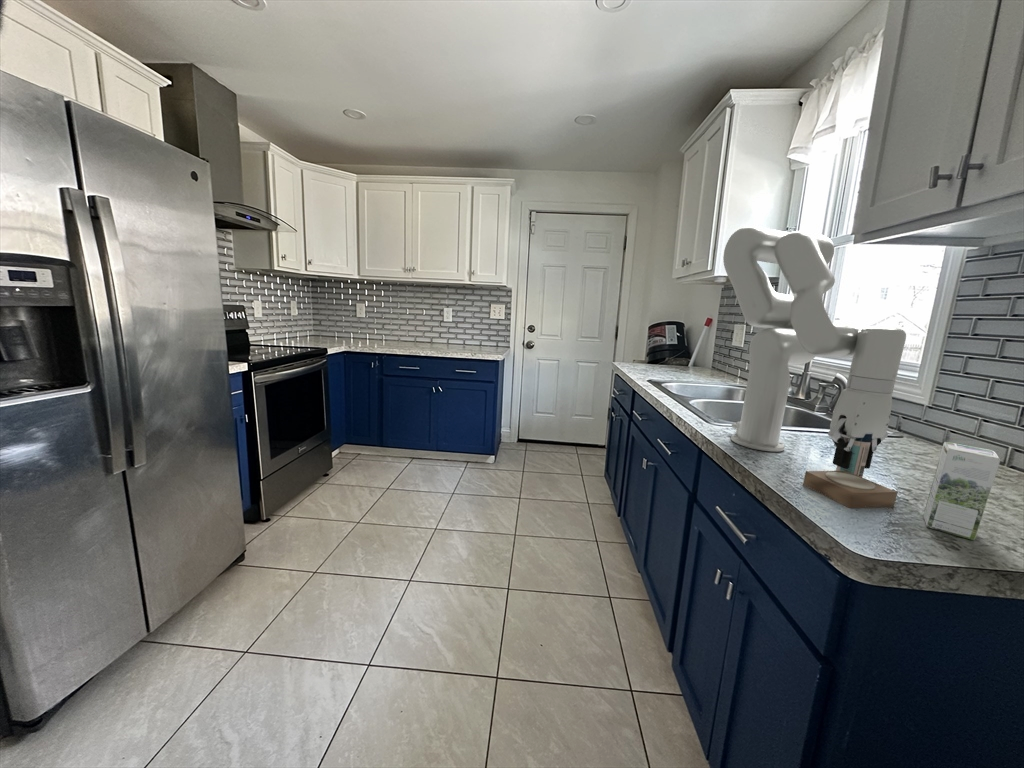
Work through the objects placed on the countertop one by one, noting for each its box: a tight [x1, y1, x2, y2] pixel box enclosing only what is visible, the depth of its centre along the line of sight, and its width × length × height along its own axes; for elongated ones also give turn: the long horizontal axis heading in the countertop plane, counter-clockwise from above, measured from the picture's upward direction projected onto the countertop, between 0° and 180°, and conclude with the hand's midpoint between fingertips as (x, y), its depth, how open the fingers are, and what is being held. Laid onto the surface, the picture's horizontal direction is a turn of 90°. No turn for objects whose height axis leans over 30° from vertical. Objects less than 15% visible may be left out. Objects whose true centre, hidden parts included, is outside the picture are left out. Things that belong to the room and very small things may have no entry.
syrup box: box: [923, 441, 1001, 541], centre depth 68 cm, size 6×6×14 cm
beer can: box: [835, 432, 873, 478], centre depth 88 cm, size 5×5×12 cm
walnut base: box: [802, 470, 898, 509], centre depth 80 cm, size 10×10×3 cm
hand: (850, 465), depth 89 cm, fingers closed on beer can, 4 cm apart
